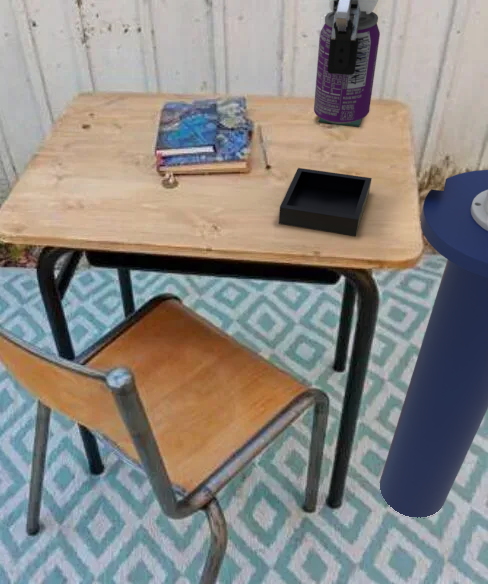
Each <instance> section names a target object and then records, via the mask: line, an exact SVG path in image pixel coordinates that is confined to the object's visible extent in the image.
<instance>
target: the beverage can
mask: <svg viewBox="0 0 488 584" xmlns="http://www.w3.org/2000/svg"><path fill="white" fill-rule="evenodd" d="M350 9H356V8H350ZM334 15H335V12H333V11H329V13H327V14H325V16H324V24H323V26H322V28H321V30H320V32H319V39H318V51H317V66H316V79H315V91H314V102H313V104H314V105H313V113H314V114H315V115H316V117H318V118H319V119H320V118H322V119H324V120H326V121H328V122H331V123H336V124H335V125H339V124H347V123H352V122H355V121H357V120H360V119H362V120H363V119H364V118H365V117H367V115H369V113H370V109H371V101H372V95H373V88H374V80H375V72H376V65H377V59H378V52H379V51H378V50H379V45H380V36H381V33H380V28H379V26H378V23H379V22H378V21H379V15H378V14H377V13H375V12H374V11H372V12H371V13H370V14H366V11H361V14H360V19H359V25H358V31H357V37H356V38H359V42H358V51H357V59H356V67H355V72H354V74H353V75H345V74H332V73H328V71H327V69H328V58H329V47H330V38H331V34H332V28H333V22H334ZM349 20H352V23H353V21H354V16H350V17H349Z"/></svg>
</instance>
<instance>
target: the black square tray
mask: <svg viewBox="0 0 488 584" xmlns="http://www.w3.org/2000/svg"><path fill="white" fill-rule="evenodd" d="M372 178H373V177H368V176H360V175H353V174H346V173H339V172H333V171H332V172H331V171H324V170H316V169H310V168H303V167H298V168H297V169H296V171H295V174H293V177H292V180H291V182H290V184H289V186H288V189H287V191H286V192H285V194H284V197H283V199H282V201H281V203H280V206H279V213H278V224H279V225H284V226H290V227H296V228H302V229H309V230H315V231H321V232H327V233H331V234H339V235H344V236H351V237H356V236H357V233H358V231H359V228H360V225H361V221H362V218H363V215H364V212H365V208H366V205H367V202H368V199H369V196H370V191H371V186H372V185H371V184H372V180H373V179H372Z"/></svg>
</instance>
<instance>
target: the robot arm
mask: <svg viewBox="0 0 488 584" xmlns="http://www.w3.org/2000/svg"><path fill="white" fill-rule="evenodd" d="M378 3H379V0H329V5H328V7H329V9H330V10H331V12H335V15H334V22H333V28H332V34H331V38H330V47H329V58H328V69H327V71H328V73H332V74H345V75H353V74H354V72H355V67H356V59H357V51H358V42H359V38H356V37H357V31H358V25H359V19H360V14H361V11H366V14H370V13H371V12H374V10H375V9H376V6H377V4H378ZM350 8H356V9H350ZM350 16H354V21H353V23H352V20H349V17H350ZM471 215H472V217H473V219H474V220H475V221H476V222H477V224H478V225H480V226H481V227H482V228H483V229H485V230H487V231H488V190H486V191H483V192H481V193H480V194H478V195H477V196H476V197H475V198H474V200H473V202H472V205H471Z"/></svg>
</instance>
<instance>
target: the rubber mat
mask: <svg viewBox="0 0 488 584" xmlns="http://www.w3.org/2000/svg"><path fill="white" fill-rule="evenodd" d="M362 121H363V118H362V119H360V120H357V121H355V122H352V123H347V124H338V125H339V126H347V127H348V126H349V127H356V128H359V127H360V125H361V122H362ZM318 123H324V124H330V125H337V124H336V123H331V122H328V121H326V120H324V119H322V118H320V117H319V119H318Z"/></svg>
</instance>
